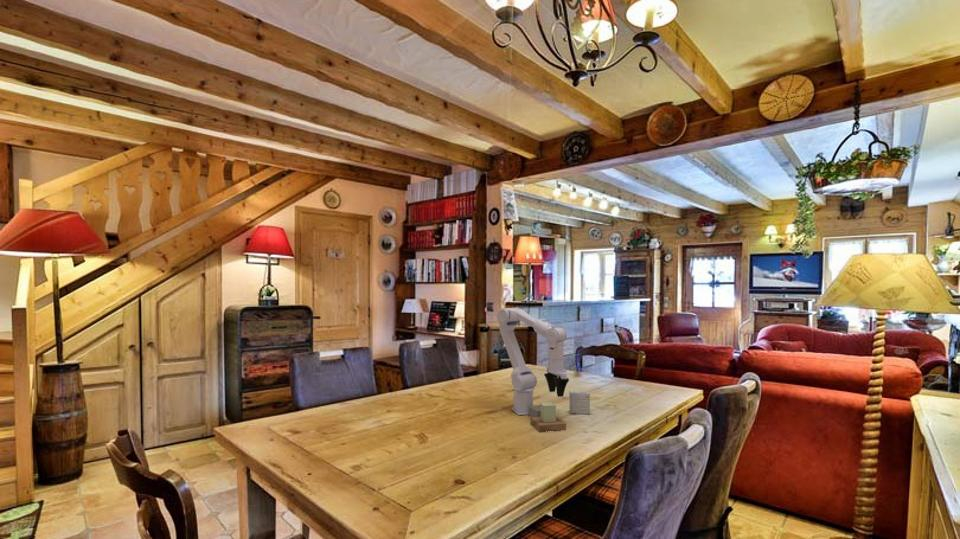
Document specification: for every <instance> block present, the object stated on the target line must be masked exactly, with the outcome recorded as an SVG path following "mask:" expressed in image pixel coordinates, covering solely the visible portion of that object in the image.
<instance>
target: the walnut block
mask: <svg viewBox="0 0 960 539" xmlns="http://www.w3.org/2000/svg"><path fill="white" fill-rule="evenodd" d="M529 420H530V425H531V426H532V427H533V426H534V427H535V430H536V431H538V432H539V433H549V432H548V431H554V432H562V431H561V430H566V431H567V423H566V422H564V421H563V420H562V419H560V418H559V417H557V416H556V422H543V421H542V420H541V417H530V419H529ZM534 427H533V428H534ZM546 431H547V432H546Z"/></svg>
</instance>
